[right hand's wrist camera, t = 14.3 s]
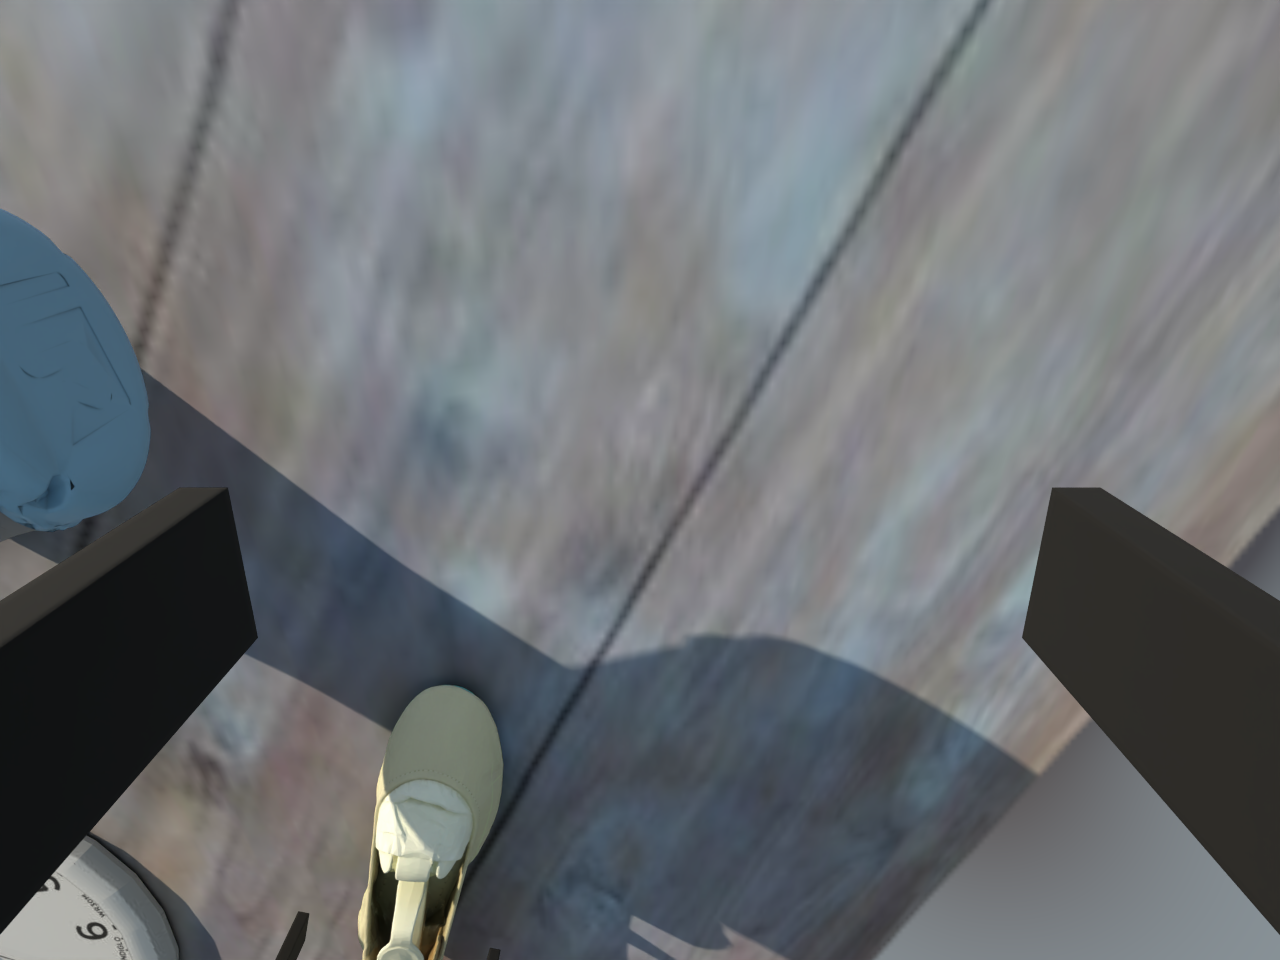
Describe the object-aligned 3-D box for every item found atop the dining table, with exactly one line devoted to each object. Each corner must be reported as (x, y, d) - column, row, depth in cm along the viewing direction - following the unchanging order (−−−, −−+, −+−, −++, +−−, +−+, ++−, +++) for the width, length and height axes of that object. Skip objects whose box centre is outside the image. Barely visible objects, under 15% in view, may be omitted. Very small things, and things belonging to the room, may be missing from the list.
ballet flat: (523, 688, 51) (503, 771, 44) (469, 945, 60) (445, 1053, 52) (400, 664, 51) (358, 745, 43) (362, 928, 59) (322, 1034, 52)
